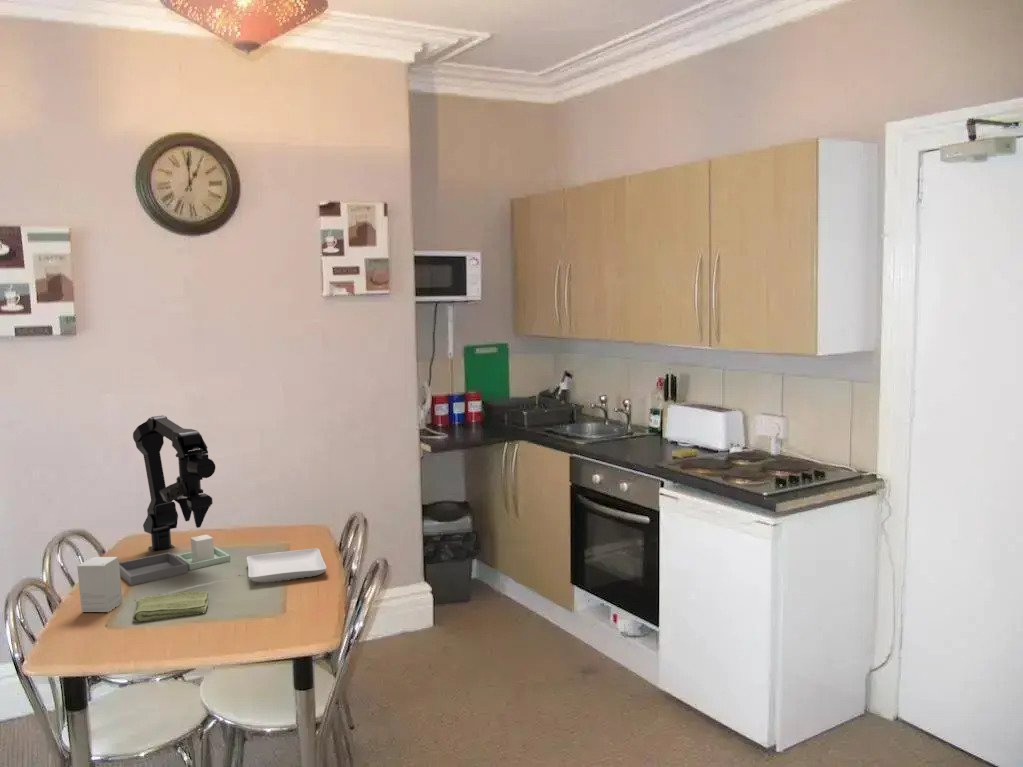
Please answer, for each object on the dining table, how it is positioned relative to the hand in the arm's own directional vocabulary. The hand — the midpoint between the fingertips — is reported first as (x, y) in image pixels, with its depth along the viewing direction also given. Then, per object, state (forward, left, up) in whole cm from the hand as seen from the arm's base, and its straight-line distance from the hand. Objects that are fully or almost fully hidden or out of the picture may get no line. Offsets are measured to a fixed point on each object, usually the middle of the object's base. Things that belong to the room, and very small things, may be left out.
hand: (192, 524), depth 256 cm
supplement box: (+21, -31, -12) cm, 39 cm away
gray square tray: (+2, -13, -12) cm, 18 cm away
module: (+2, +2, -11) cm, 11 cm away
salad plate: (+27, +17, -12) cm, 34 cm away
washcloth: (+35, -18, -12) cm, 41 cm away
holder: (+2, +2, -12) cm, 12 cm away
